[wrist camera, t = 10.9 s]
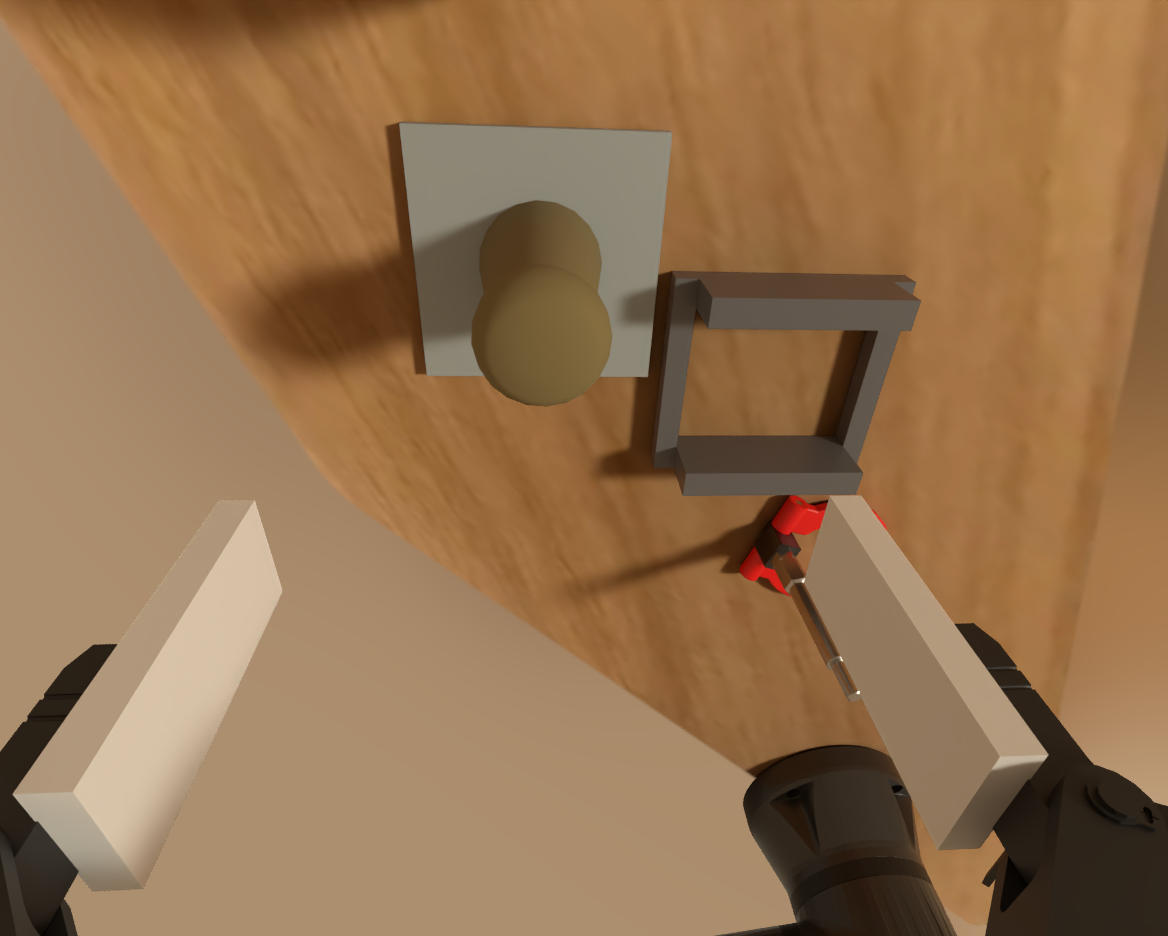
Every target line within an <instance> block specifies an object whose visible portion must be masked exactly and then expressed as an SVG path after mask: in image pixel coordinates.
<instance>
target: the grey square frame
mask: <svg viewBox="0 0 1168 936" xmlns="http://www.w3.org/2000/svg"><path fill="white" fill-rule="evenodd" d="M915 285H916V282H915V281H913V280H911V279H910V278H908V277H907V276H905V275H857V274H801V273H745V272H689V271H672V273H671V282H670V291H669V300H668V309H667V318H666V327H665V336H664V344H663V353H662V362H661V371H660V380H659V389H658V398H657V407H656V416H655V425H654V434H653V443H652V451H651V459H652V463H653V467H654V468H674V470H675V473H676V476H677V479H678V482H679V485H680V489H681V492H682V495H683V496H726V495H851V494H856V493H857V490H858V487H859V484H860V481H861V478H862V475H863V472H862V470H861V469H860V468H859V466H858V465H857V462H858V459H859V456H860V453H861V450H862V447H863V444H864V440H865V437H866V434H867V431H868V428H869V425H870V422H871V419H872V416H873V413H874V410H875V407H876V404H877V401H878V398H879V395H880V392H881V389H882V385H883V382H884V379H885V376H886V373H887V370H888V367H889V364H890V361H891V358H892V355H893V352H894V349H895V346H896V343H897V340H898V337H899V333H900V331H911V329H912V326H913V323H914V320H915V317H916V314H917V312H918V309H919V306H920V303H921V300H919V299H918V298H916V297H915V296H913V295H912V294H913V291H914V288H915ZM696 309H697V311H698V313H699V314H700V316H701V318H702V319H703V321H704V323H705V324H706V326H707V328H708V329H781V330H866V334H865V337H864V340H863V344H862V347H861V350H860V354H859V357H858V361H857V364H856V367H855V371H854V374H853V377H852V381H851V384H850V388H849V391H848V394H847V398H846V401H845V405H844V408H843V411H842V415H841V418H840V421H839V425H838V428H837V432H836V435H835V436H678V434H679V427H680V420H681V412H682V405H683V398H684V390H685V383H686V376H687V369H688V361H689V354H690V347H691V339H692V332H693V325H694V318H695V310H696Z"/></svg>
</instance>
